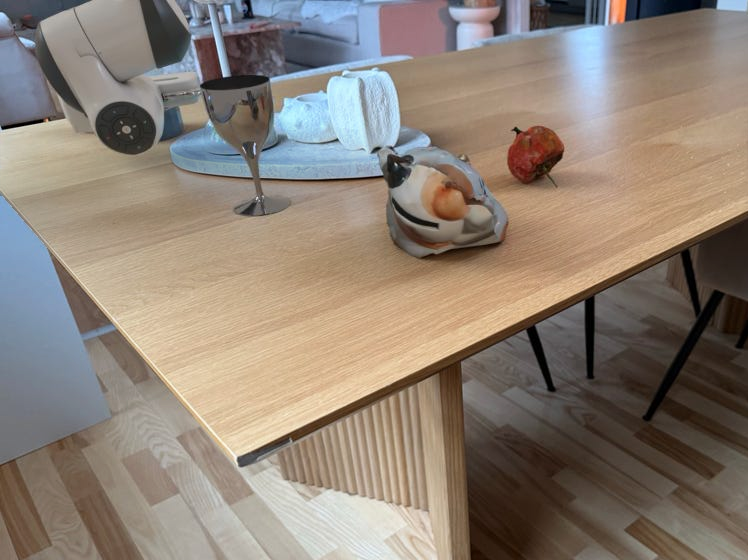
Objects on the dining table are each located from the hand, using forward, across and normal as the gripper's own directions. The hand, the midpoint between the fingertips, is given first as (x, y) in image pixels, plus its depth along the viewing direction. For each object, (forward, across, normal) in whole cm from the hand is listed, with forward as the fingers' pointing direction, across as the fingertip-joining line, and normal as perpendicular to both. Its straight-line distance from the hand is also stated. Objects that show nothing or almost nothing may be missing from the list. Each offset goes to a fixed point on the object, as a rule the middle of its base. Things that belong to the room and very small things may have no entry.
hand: (133, 83), depth 112 cm
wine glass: (-40, -14, +9) cm, 43 cm away
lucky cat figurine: (-62, -32, +9) cm, 70 cm away
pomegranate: (-48, -49, +9) cm, 69 cm away
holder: (+4, 0, +9) cm, 10 cm away
